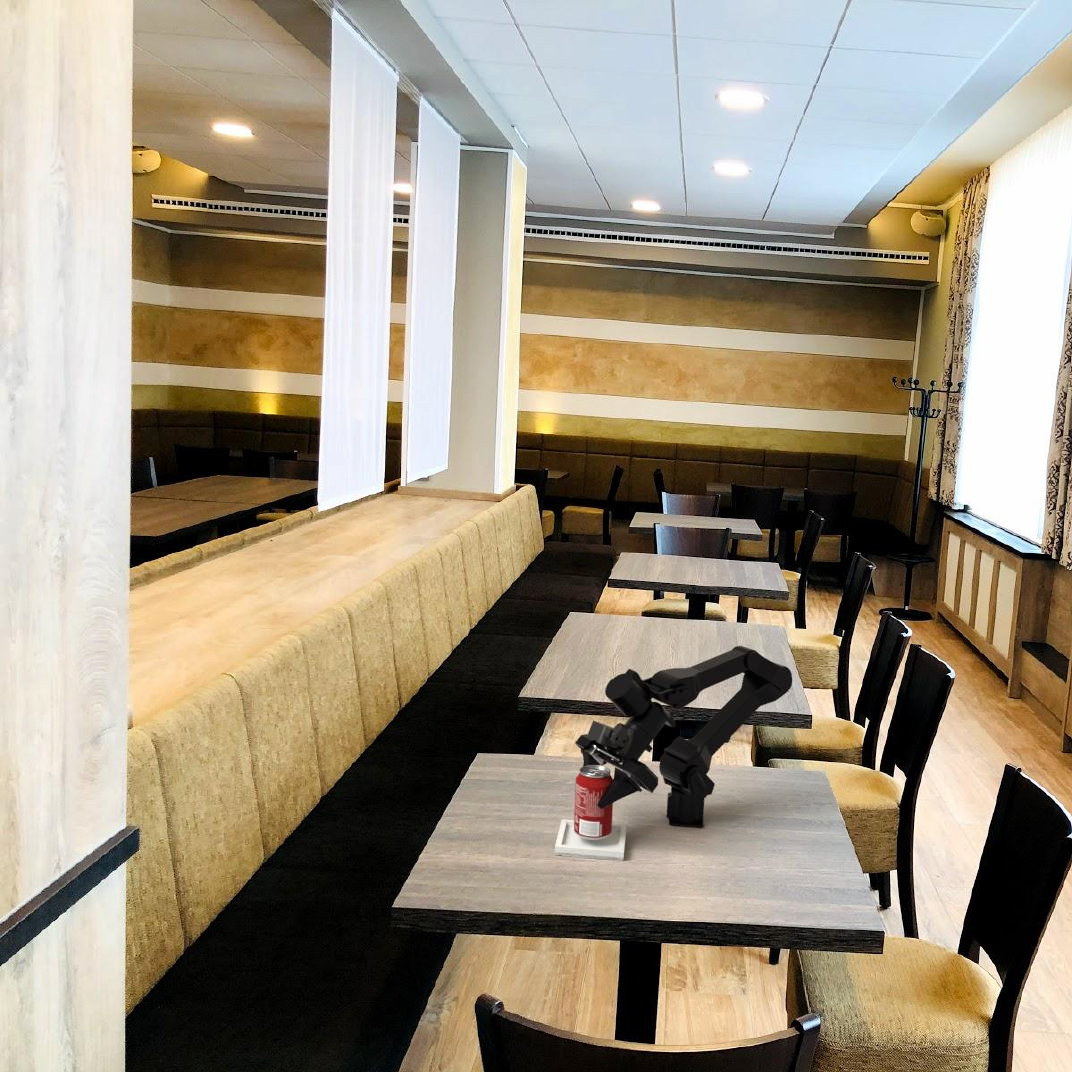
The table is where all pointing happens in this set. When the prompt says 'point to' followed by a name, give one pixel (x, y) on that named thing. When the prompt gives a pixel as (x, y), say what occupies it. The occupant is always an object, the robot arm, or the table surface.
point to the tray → (591, 843)
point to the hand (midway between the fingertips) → (587, 800)
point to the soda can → (592, 803)
